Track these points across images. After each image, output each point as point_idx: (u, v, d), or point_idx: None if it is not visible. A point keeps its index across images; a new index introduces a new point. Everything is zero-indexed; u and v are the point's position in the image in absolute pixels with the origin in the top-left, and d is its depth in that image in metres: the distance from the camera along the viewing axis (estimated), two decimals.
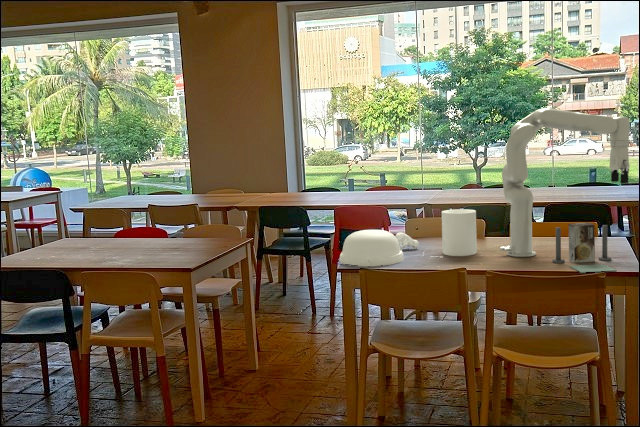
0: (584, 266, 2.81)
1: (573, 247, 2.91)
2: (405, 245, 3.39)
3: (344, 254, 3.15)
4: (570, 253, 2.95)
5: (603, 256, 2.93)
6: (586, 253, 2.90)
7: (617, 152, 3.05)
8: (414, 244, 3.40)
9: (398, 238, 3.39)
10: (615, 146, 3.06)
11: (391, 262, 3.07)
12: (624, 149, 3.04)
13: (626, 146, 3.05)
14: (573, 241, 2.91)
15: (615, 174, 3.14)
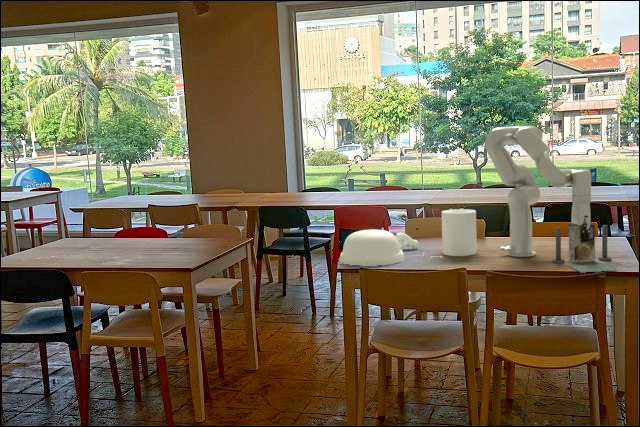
0: (584, 266, 2.81)
1: (573, 247, 2.91)
2: (405, 245, 3.39)
3: (344, 254, 3.16)
4: (570, 253, 2.95)
5: (603, 256, 2.93)
6: (586, 253, 2.90)
7: (578, 207, 2.88)
8: (414, 244, 3.40)
9: (398, 238, 3.39)
10: (576, 201, 2.89)
11: (391, 262, 3.07)
12: (586, 205, 2.87)
13: (588, 201, 2.88)
14: (573, 241, 2.91)
15: None
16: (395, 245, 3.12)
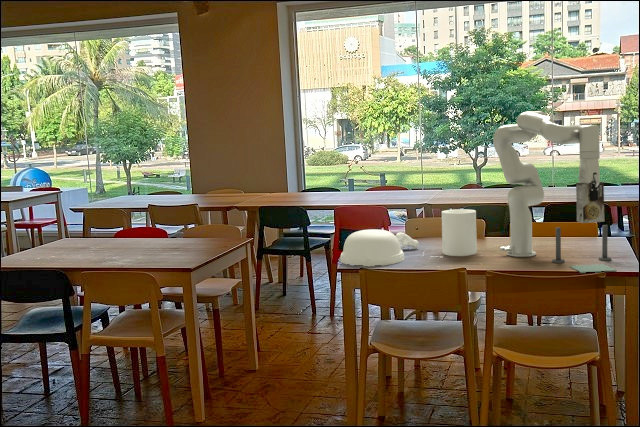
0: (584, 266, 2.81)
1: (582, 207, 2.76)
2: (405, 245, 3.39)
3: (344, 254, 3.16)
4: (578, 213, 2.80)
5: (603, 256, 2.93)
6: (595, 212, 2.76)
7: (586, 164, 2.73)
8: (414, 244, 3.40)
9: (398, 238, 3.39)
10: (584, 158, 2.74)
11: (390, 262, 3.07)
12: (594, 161, 2.72)
13: (596, 157, 2.73)
14: (581, 200, 2.76)
15: None
16: (395, 245, 3.12)
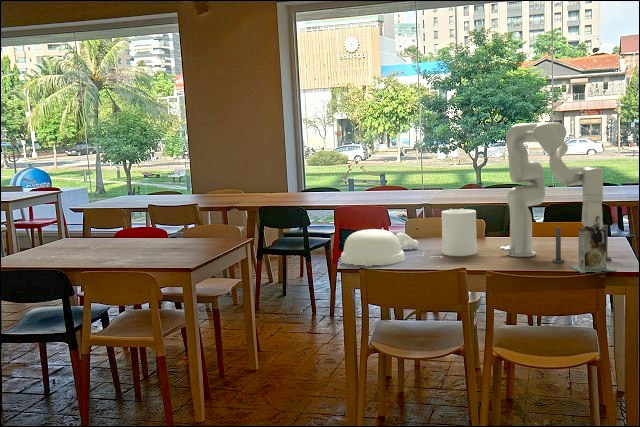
0: None
1: (583, 254, 2.74)
2: (405, 245, 3.39)
3: (344, 253, 3.17)
4: (580, 259, 2.78)
5: None
6: (597, 259, 2.74)
7: (589, 208, 2.71)
8: (414, 244, 3.40)
9: (398, 238, 3.39)
10: (587, 201, 2.71)
11: (390, 262, 3.08)
12: (597, 205, 2.69)
13: (599, 201, 2.70)
14: (583, 247, 2.74)
15: None
16: (395, 245, 3.12)
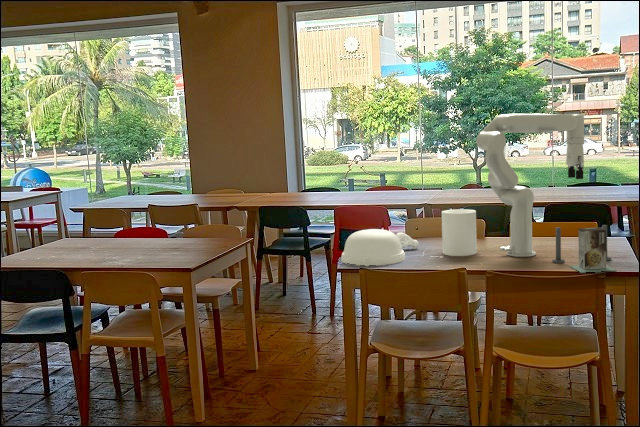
0: None
1: (583, 254, 2.74)
2: (405, 245, 3.39)
3: (345, 253, 3.17)
4: (580, 259, 2.78)
5: None
6: (597, 259, 2.74)
7: (572, 149, 3.13)
8: (414, 244, 3.40)
9: (398, 238, 3.39)
10: (571, 143, 3.13)
11: (390, 262, 3.08)
12: (579, 146, 3.11)
13: (581, 143, 3.12)
14: (583, 247, 2.74)
15: (572, 171, 3.22)
16: (395, 245, 3.12)
